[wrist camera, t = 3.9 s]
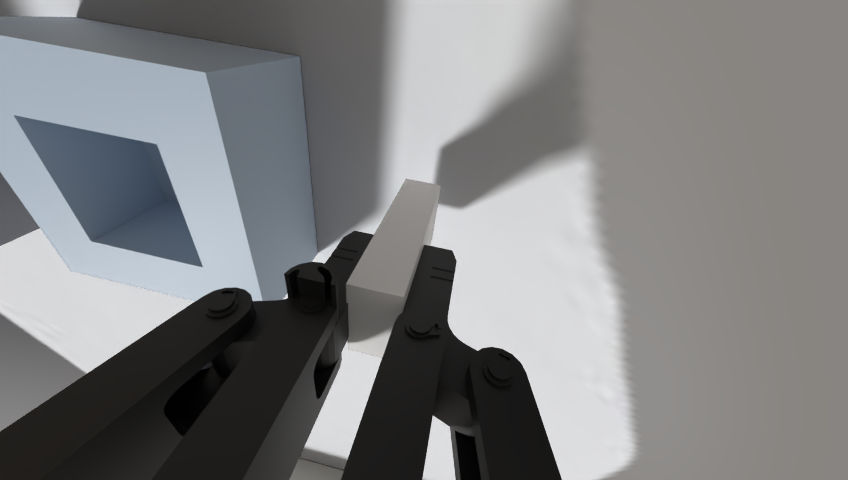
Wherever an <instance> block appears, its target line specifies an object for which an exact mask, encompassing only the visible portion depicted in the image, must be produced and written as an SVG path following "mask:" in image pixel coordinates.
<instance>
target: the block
mask: <svg viewBox="0 0 848 480" xmlns="http://www.w3.org/2000/svg"><path fill="white" fill-rule="evenodd" d="M0 172H1V174H2V175H3V177H4V178H5V179H6V181H7V182H8V184H9V185H10V186H11V188H12V189H13V191H14V192H15V193H16V195H17V196H18V198H19V199H20V200H21V202H22V203H23V205H24V206H25V208H26V209H27V210H28V212H29V213H30V215H31V216H32V217H33V219H34V220H35V222H36V223H37V224H38V226H39V227H40V229H41V230H42V231H43V233H44V234H45V236H46V237H47V239H48V240H49V241H50V243H51V244H52V246H53V247H54V248H55V250H56V251H57V253H58V254H59V255H60V257H61V258H62V260H63V261H64V262H65V264H66V265H67V267H68V268H69V270H70V271H72V272H77V273H81V274H85V275H89V276H93V277H97V278H101V279H105V280H109V281H113V282H118V283H122V284H126V285H130V286H134V287H138V288H142V289H146V290H150V291H154V292H159V293H163V294H167V295H171V296H175V297H179V298H183V299H187V300H191V301H197V300H198V299H200V298H201V297H203V296H205V295H207V294H208V293H210V292H212V291H215V290H219V289H222V288H233V287H237V288H240V289H244V290H246V291H247V292H248V293H250V294H251V297H252V300H253V301H272V300H282V299H283V298H284V297H285V295H286V294H287V288H286V282H285V277H284V273H285V272H287V271H288V270H289V269H290V268H292V267H294V266H296V265H299V264H302V263H308V262H312V260H313V259H314V258H315V256H316V255H317V254H318V250H317V239H316V228H315V217H314V206H313V195H312V184H311V173H310V162H309V151H308V140H307V129H306V118H305V107H304V96H303V85H302V74H301V63H300V56H295V55H289V54H284V53H278V52H272V51H266V50H261V49H255V48H249V47H243V46H238V45H232V44H226V43H220V42H214V41H209V40H203V39H197V38H191V37H186V36H180V35H174V34H168V33H163V32H157V31H151V30H145V29H140V28H134V27H128V26H122V25H117V24H111V23H105V22H99V21H94V20H88V19H82V18H76V17H16V16H0Z"/></svg>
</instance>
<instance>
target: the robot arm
mask: <svg viewBox="0 0 848 480" xmlns="http://www.w3.org/2000/svg"><path fill="white" fill-rule="evenodd" d="M440 189H441V186H440V185H435V184H430V183H425V182H420V181H415V180H410V179H406V180H405V182H404V183H403V185H402V187H401V189H400V190H399V192H398V194H397V196H396V197H395V199H394V201H393V203H392V204H391V206H390V208H389V210H388V211H387V213H386V215H385V217H384V218H383V220H382V222H381V224H380V225H379V227H378V229H377V230H376V232H375V234H374V235H372V234H368V233H363V232H358V231H353V232H352V233H350V234H348V235H347V236H345V237H344V238H343V239H342V240H341V242H340V243H339V245H338V246H337V249H335V250H334V252H333V253H332V254H331V257H329V259H328V260H327V261H326V263H325V264H323V263H318V262H308V263H302V264H299V265H296V266H294V267H292V268H290V269H289V270H288V271H287V272H285V273H284V277H285V282H286V288H287V293H288V298H287V299H284V300H272V301H253V300H252V297H251V294H250V293H248V292H247V291H246V290H244V289H240V288H237V287H233V288H222V289H219V290H215V291H212V292H210V293H208V294H207V295H205V296H203V297H201V298H200V299H198V300H197V301H195V302H194V303H192V304H191V305H189V306H188V307H186V308H185V309H183V310H182V311H180V312H179V313H177V314H176V315H174V316H173V317H171V318H170V319H168V320H167V321H165V322H164V323H162V324H161V325H159V326H158V327H156V328H155V329H153V330H152V331H150V332H149V333H147V334H146V335H144V336H143V337H141V338H140V339H138V340H137V341H135V342H134V343H132V344H131V345H129V346H128V347H126V348H125V349H123V350H122V351H120V352H119V353H117V354H116V355H114V356H113V357H111V358H110V359H108V360H107V361H105V362H104V363H102V364H101V365H99V366H98V367H96V368H95V369H93V370H92V371H90V372H89V373H87V374H86V375H85V376H83V377H82V378H80V379H78V380H77V381H75V382H74V383H72V384H71V385H69V386H68V387H66V388H65V389H64V390H62V391H60V392H59V393H57V394H56V395H54V396H53V397H51V398H50V399H49V400H47V401H46V402H44V403H43V404H41V405H40V406H38V407H37V408H35V409H34V410H32V411H31V412H29V413H28V414H26V415H25V416H23V417H22V418H20V419H19V420H17V421H16V422H14V423H13V424H11V425H10V426H8V427H7V428H5V429H4V430H2V431H1V432H0V480H289V479H290V477H291V475H292V473H293V471H294V468H295V466H296V464H297V462H298V459H299V457H300V455H301V453H302V450H303V448H304V446H305V444H306V442H307V439H308V437H309V435H310V433H311V430H312V428H313V426H314V424H315V421H316V419H317V417H318V415H319V413H320V410H321V408H322V406H323V404H324V401H325V399H326V397H327V395H328V392H329V390H330V388H331V386H332V384H333V381H334V379H335V377H336V375H337V372H338V370H339V368H340V364H341V360H342V357H341V352H342V350H343V348H344V346H345V344H346V341H348V350H352V351H356V352H361V353H365V354H369V355H373V356H377V357H381V358H382V360H381V363H380V366H379V369H378V372H377V375H376V378H375V381H374V384H373V387H372V390H371V393H370V396H369V399H368V402H367V405H366V407H365V410H364V413H363V416H362V419H361V422H360V425H359V428H358V431H357V434H356V437H355V440H354V443H353V446H352V449H351V451H350V454H349V457H348V460H347V463H346V466H345V469H344V472H343V475H342V478H341V480H422V477H423V471H424V465H425V459H426V453H427V446H428V440H429V434H430V428H431V422H432V416H435V417H436V418H438V419H439V420H441V421H442V422H444V423H445V424H447V425H448V426H450V431H451V440H452V449H453V458H454V467H455V477H456V480H562V479H561V476H560V473H559V470H558V467H557V464H556V461H555V458H554V455H553V452H552V449H551V446H550V443H549V440H548V437H547V434H546V431H545V428H544V425H543V422H542V419H541V416H540V413H539V410H538V407H537V404H536V401H535V398H534V395H533V392H532V389H531V386H530V383H529V380H528V377H527V374H526V372H525V370H524V368H523V366H522V364H521V363H520V362H519V361H518V360H517V359H516V358H515V357H514V356H513V355H512V354H510V353H509V352H507V351H505V350H503V349H499V348H494V347H488V348H482V349H481V350H479V351H477V350H475V349H473V348H471V347H469V346H468V345H466V344H464V343H463V342H461V341H460V340H458V338H457V337H456V336H455V335H454V334H453V333H452V331H451V330H450V328H449V325H448V310H449V304H450V298H451V292H452V286H453V279H454V273H455V267H456V259H455V256H454V254H453V252H452V251H451V250H447V249H442V248H437V247H433V246H430V244H431V240H432V236H433V230H434V224H435V218H436V212H437V207H438V201H439V195H440Z"/></svg>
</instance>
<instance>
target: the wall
mask: <svg viewBox="0 0 848 480" xmlns="http://www.w3.org/2000/svg"><path fill="white" fill-rule="evenodd" d="M39 228H40V227H39V226H38V224H37V223H36V222H35V220H34V219H33V217H32V216H31V215H30V213H29V212H28V210H27V209H26V208H25V206H24V205H23V203H22V202H21V200H20V199H19V198H18V196H17V195H16V193H15V192H14V191H13V189H12V188H11V186H10V185H9V184H8V182H7V181H6V179H5V178H4V177H3V175H2V174H1V172H0V246H1V245H3V244H5V243H8V242H10V241H12V240H14V239H17V238H19V237H21V236H23V235H25V234H28V233H30V232H32V231H34V230H37V229H39Z"/></svg>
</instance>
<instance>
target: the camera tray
mask: <svg viewBox="0 0 848 480" xmlns="http://www.w3.org/2000/svg"><path fill="white" fill-rule="evenodd" d="M343 472H344V471H343V470H340V469H336V468H333V467H329V466H325V465H322V464H318V463H315V462H311V461H308V460H304V459H300V458H299V459H298V462H297V464H296V466H295V468H294V471H293V473H292V475H291V477H290V479H289V480H341V478H342V475H343Z"/></svg>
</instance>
